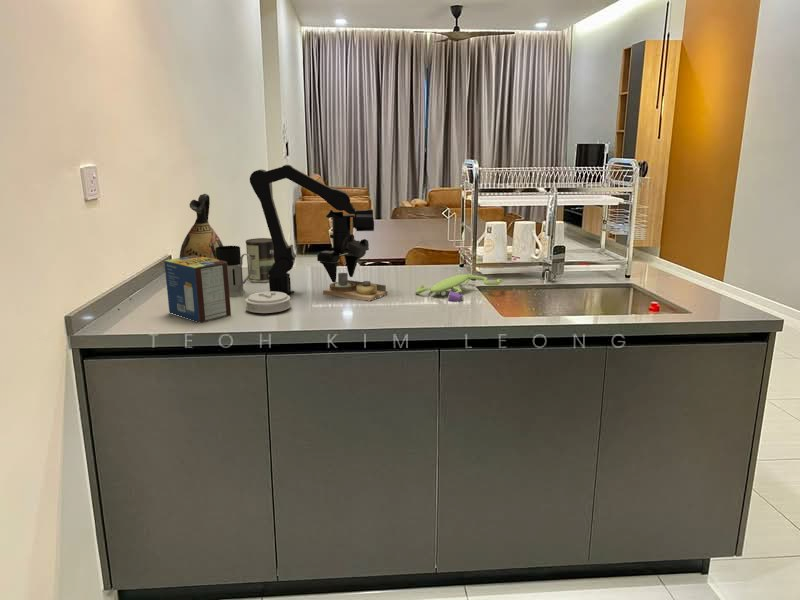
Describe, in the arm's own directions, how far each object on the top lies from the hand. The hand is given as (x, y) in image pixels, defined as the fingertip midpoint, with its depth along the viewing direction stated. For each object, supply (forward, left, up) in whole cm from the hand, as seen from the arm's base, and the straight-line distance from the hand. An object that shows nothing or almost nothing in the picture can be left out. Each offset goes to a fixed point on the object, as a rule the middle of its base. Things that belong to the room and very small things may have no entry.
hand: (342, 279), depth 196 cm
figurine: (+20, -32, -5) cm, 38 cm away
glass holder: (-20, +27, -4) cm, 34 cm away
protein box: (-42, +19, -5) cm, 46 cm away
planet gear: (0, 0, -3) cm, 3 cm away
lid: (-28, +6, -5) cm, 29 cm away
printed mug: (+1, +36, -4) cm, 37 cm away
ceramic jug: (-10, +53, -4) cm, 54 cm away
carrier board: (0, -5, -4) cm, 6 cm away
